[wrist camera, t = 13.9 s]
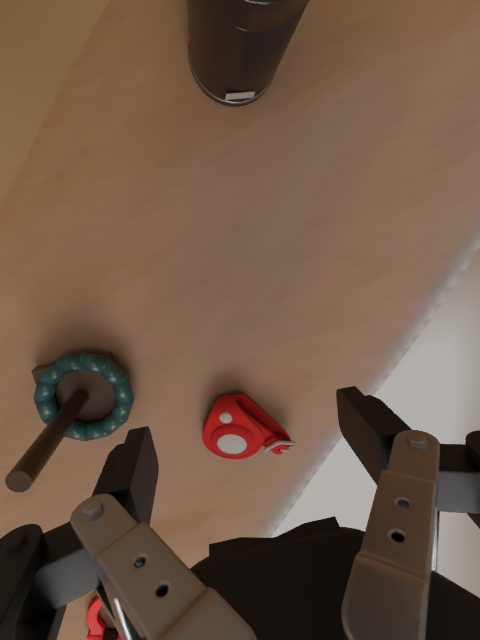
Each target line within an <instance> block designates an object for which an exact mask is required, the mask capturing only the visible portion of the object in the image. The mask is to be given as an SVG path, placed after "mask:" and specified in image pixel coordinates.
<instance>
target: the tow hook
mask: <svg viewBox="0 0 480 640" xmlns="http://www.w3.org/2000/svg"><path fill="white" fill-rule="evenodd" d="M102 607H103V604H102V602H101V601H100V599H99V597H98V596H97V597H96V598H95V599H94V600H93V601H92V602H91V604H90V606H89V609H88V612H87V624H88V626H89V628H90V629H89V632H88V636H87V639H86V640H122V639H121V637H120V635H119V633H118V631H117V630H108V629H105V624H104V623H103V622H102V621H101V620H100V618H99V615H98V612H99V610H100V609H101V608H102Z"/></svg>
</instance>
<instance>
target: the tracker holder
mask: <svg viewBox="0 0 480 640" xmlns="http://www.w3.org/2000/svg"><path fill="white" fill-rule="evenodd" d="M276 431H277V432H276ZM202 436H203V437H202V438H203V442H204V444H205V446H206V447H207V448H208V449H209V450H210V451H211V452H213V453H214V454H216V455H218V456H221V457H224V458H228V459H242V458H247V457H250V456H252V455H254V454H255V453H256V452H258V451H259V450H260V448H261V447H262V446H265V447H266V448H264V452H273V453H275V454H278V455H279V454H282V453H283V452H288V451H290V449H288V448H290V447H292V446H293V445H295V444H296V443H295V442H294V441H291V440H290V438H289V436H288V434H287V433H286V432H285V431H284V430H283V429H282V428H281V427H280V426H279V425H278V424H276V423H275V422H274V421H273V420H272V419H271V418H270V417H269V416H267V415H266V414H265V413H264V412H263V411H262V410H261V409H260V408H259V407H258V406H257V405H256V404H255V403H254V402H253V401H252V400H251V399H250V398H249V397H247V396H246V395H244V394H233V395H224V396H222V397H220V398H219V399H218V400H217V401H216V402H215V404H214V405H213V407H212V410H211V412H210V414H209V416H208V417H207V419H206V421H205V424H204V427H203V432H202Z"/></svg>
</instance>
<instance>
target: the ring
mask: <svg viewBox="0 0 480 640" xmlns="http://www.w3.org/2000/svg"><path fill="white" fill-rule="evenodd" d="M79 370H86V371H90V372H94V373H98V374H100V375H102V376H103V377H104V378H105V379H106V380H107V381H108V382H109V383H110V384H111V385H112V387H113V390H114V393H115V396H116V401H115V405H114V408H113V411H112V412H111V413H110V414H109V415H108V416H107V417H105V418H104V419H103V420H101V421H97V422H92V423H88V424H87V423H82V422H78V421H74V423H73V424H72V426H71V427H70V429H69V430H68V432H67V433H66V435H65V436H64V437H68V438H73V439H77V440H82V441H88V440H93V439H97V438H101V437H106V436H109V435H111V434H112V433H113V432H114V431H115V430H116V429H118V428H119V427H120V426H121V425H122V424H123V423H125V422H126V421H127V419H128V417H129V414H130V410H131V407H132V404H133V401H134V395H133V391H132V388H131V384H130V381H129V378H128V375H127V374H126V373H125V372H124V371H123V370H122V369H120V368H119V367H118V366H117V365H116V364H115V363H114V362H113V361H112V360H111V359H109V358H106V357H102V356H98V355H95V354H91V353H87V352H81V353H77V354H72V355H67V356H62V357H59V358H57V359H56V360H55V361H54V362H53V363H52V364H50V365H49V366H48V367H47V368H46V369H45V370H44V371H43V372H42V373H41V374H40V375H39V377H38V381H37V386H36V390H35V394H34V401H35V404H36V407H37V409H38V412H39V415H40V417H41V419H42V421H43V422H44V423H46V424H47V425H48V424H49V423H50V421H51V420H52V419H53V418H54V416H55V415H56V414H57V413H58V411H59V409H58V406H57V404H56V401H55V398H54V392H55V388H56V384H57V382H58V381H59V380H60V379H61V378H63V377H64V376H65V375H66V374H67V373H70V372H75V371H79Z"/></svg>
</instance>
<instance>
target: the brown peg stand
mask: <svg viewBox="0 0 480 640" xmlns="http://www.w3.org/2000/svg"><path fill="white" fill-rule="evenodd" d="M98 356H102V357H106V358H109V359H111V360H112V361H113V358H112V354H111V352H109V353H104V354H98ZM49 365H50V364H46V365H41V366H37V367H36V368H34V369H33V370H32V374H33V377H34V380H35V382H36V385H37V381H38V377H39V375H40V374H41V373H42V372H43V371H44V370H45V369H46V368H47V367H48V366H49ZM54 398H55V401H56V404H57V406H58V409H59V411H58V413H57V414H56V415H55V416H54V418H53V419H52V420H51V421H50V423H49V424H48V425H47V426H46V428H45V429H44V430H43V431H42V433H41V434H40V435H39V436H38V438H37V439H36V440H35V441H34V443H33V444H32V445H31V446H30V448H29V449H28V450H27V451H26V453H25V454H24V455H23V456H22V458H21V459H20V460H19V461H18V463H17V464H16V465H15V466H14V468H13V469H12V470H11V471H10V473H9V474H8V475H7V477H6V480H5V482H6V485H7V487H8V488H9V489H10V490H12V491H14V492H24V491H26V490H28V489H29V488H30V487H31V486H32V484H33V483H34V481H35V480H36V478H37V477H38V475H39V474H40V472H41V471H42V469H43V468H44V466H45V465H46V463H47V462H48V460H49V459H50V457H51V456H52V454H53V453H54V451H55V450H56V448H57V447H58V445H59V444H60V442H61V441H62V439H63V438H64V436H65V435H66V433H67V432H68V430H69V429H70V427H71V426H72V424H73V423H74V421H78V422H82V423H87V424H88V423H92V422H97V421H101V420H103V419H104V418H105V417H107V416H108V415H109V414H110V413H111V412H112V411H113V408H114V405H115V401H116V396H115V393H114V390H113V387H112V385H111V384H110V383H109V382H108V381H107V380H106V379H105V378H104V377H103V376H102V375H100V374H98V373H94V372H90V371H86V370H79V371H75V372H70V373H67V374H66V375H65V376H64V377H63V378H61V379H60V380H59V381H58V382H57V384H56V388H55V392H54Z"/></svg>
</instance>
